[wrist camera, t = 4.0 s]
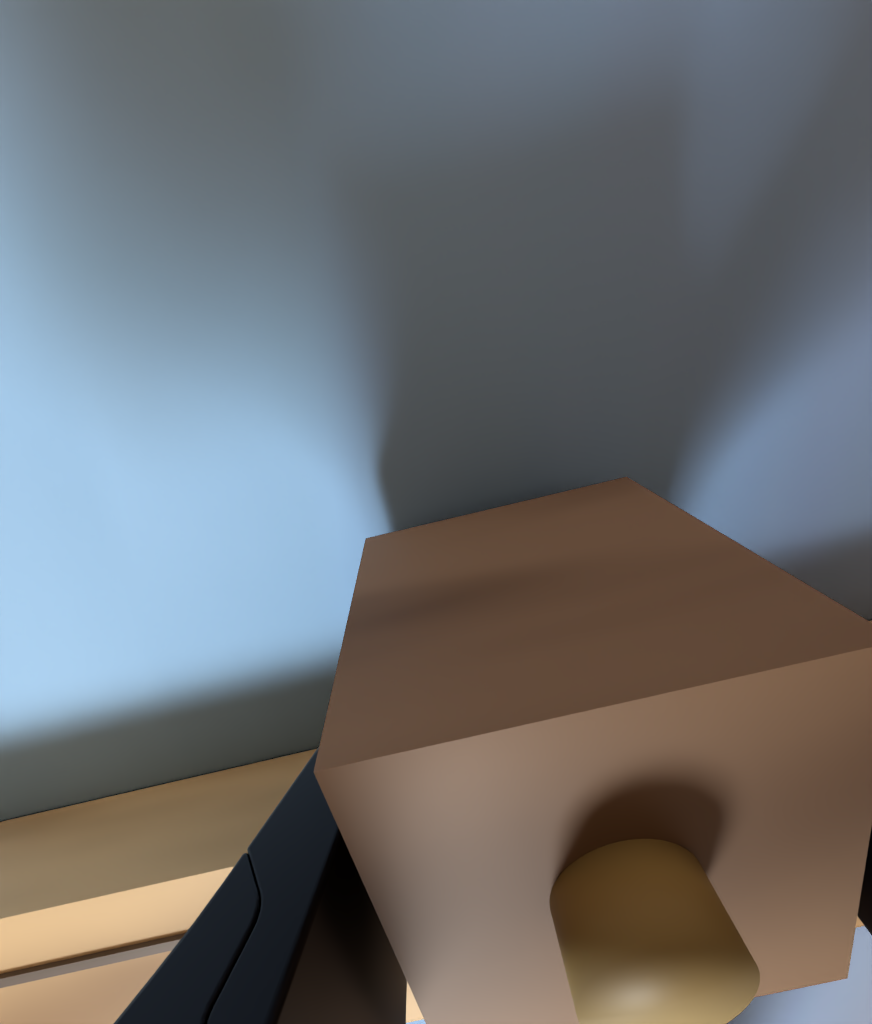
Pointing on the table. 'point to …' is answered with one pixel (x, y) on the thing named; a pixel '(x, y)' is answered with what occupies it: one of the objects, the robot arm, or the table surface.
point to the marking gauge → (600, 764)
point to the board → (122, 887)
